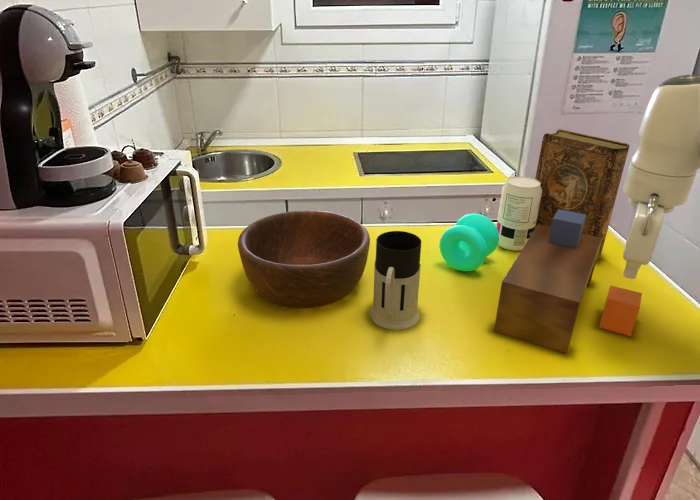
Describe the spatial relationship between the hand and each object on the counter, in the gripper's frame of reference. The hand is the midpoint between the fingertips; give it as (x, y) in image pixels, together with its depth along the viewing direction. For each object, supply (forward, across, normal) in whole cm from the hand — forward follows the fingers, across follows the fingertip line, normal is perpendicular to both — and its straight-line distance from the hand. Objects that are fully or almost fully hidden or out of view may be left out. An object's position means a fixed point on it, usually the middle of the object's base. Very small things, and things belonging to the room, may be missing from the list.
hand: (631, 263), depth 86 cm
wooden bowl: (+13, -16, +54) cm, 58 cm away
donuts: (+13, +8, +29) cm, 33 cm away
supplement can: (+13, +22, +23) cm, 35 cm away
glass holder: (+13, -20, +33) cm, 41 cm away
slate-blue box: (+2, +8, +12) cm, 14 cm away
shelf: (+12, 0, +11) cm, 17 cm away
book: (+12, +26, +13) cm, 32 cm away
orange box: (+12, 0, -1) cm, 12 cm away
